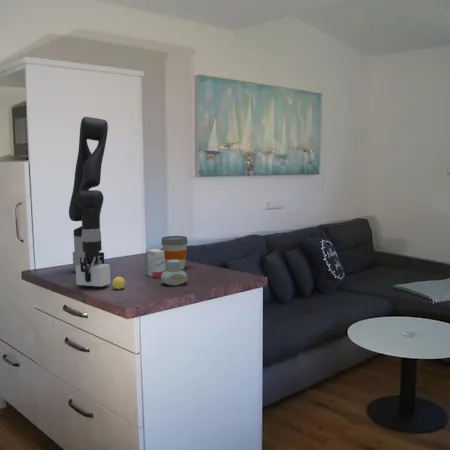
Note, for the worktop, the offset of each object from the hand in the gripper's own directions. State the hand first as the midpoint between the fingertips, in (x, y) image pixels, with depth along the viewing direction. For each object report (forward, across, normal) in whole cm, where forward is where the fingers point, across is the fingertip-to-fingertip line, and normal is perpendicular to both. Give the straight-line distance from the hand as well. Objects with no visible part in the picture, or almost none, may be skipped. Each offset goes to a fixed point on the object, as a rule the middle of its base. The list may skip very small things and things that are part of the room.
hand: (93, 279), depth 207 cm
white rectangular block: (+2, 0, 0) cm, 2 cm away
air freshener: (+3, -14, +30) cm, 33 cm away
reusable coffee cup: (+3, -44, +16) cm, 47 cm away
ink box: (+3, -26, +15) cm, 31 cm away
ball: (+1, 0, +12) cm, 12 cm away
